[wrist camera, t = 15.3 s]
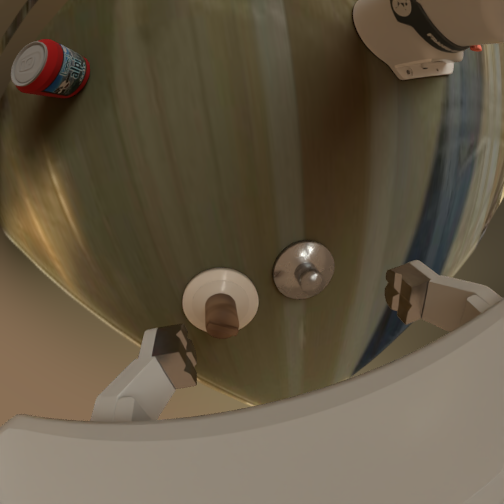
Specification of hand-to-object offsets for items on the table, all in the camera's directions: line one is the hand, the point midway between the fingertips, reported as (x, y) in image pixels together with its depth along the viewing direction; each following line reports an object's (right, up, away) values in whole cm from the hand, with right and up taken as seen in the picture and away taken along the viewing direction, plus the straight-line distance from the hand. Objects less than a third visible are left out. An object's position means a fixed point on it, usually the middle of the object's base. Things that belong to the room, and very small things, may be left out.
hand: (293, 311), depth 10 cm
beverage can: (-27, +27, +16) cm, 41 cm away
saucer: (-7, -6, +34) cm, 35 cm away
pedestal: (+7, -1, +33) cm, 34 cm away
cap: (-6, -6, +32) cm, 34 cm away
